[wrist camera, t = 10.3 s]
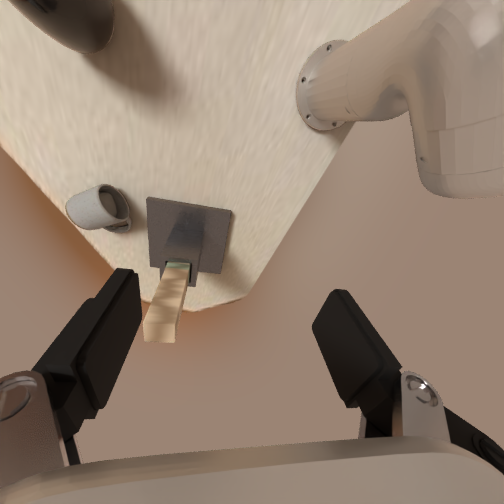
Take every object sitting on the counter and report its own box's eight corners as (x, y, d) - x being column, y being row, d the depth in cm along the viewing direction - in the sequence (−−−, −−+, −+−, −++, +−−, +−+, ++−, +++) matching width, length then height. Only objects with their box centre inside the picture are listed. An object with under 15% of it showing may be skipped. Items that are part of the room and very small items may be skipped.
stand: (230, 210, 47) (232, 238, 36) (220, 270, 57) (219, 307, 45) (148, 196, 44) (121, 223, 32) (151, 263, 53) (131, 301, 42)
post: (193, 250, 43) (175, 324, 27) (192, 265, 45) (174, 342, 29) (173, 247, 42) (142, 323, 26) (173, 263, 44) (144, 341, 28)
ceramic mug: (76, 193, 42) (50, 206, 35) (111, 178, 41) (90, 190, 35) (113, 234, 48) (96, 252, 41) (143, 222, 47) (131, 239, 41)
